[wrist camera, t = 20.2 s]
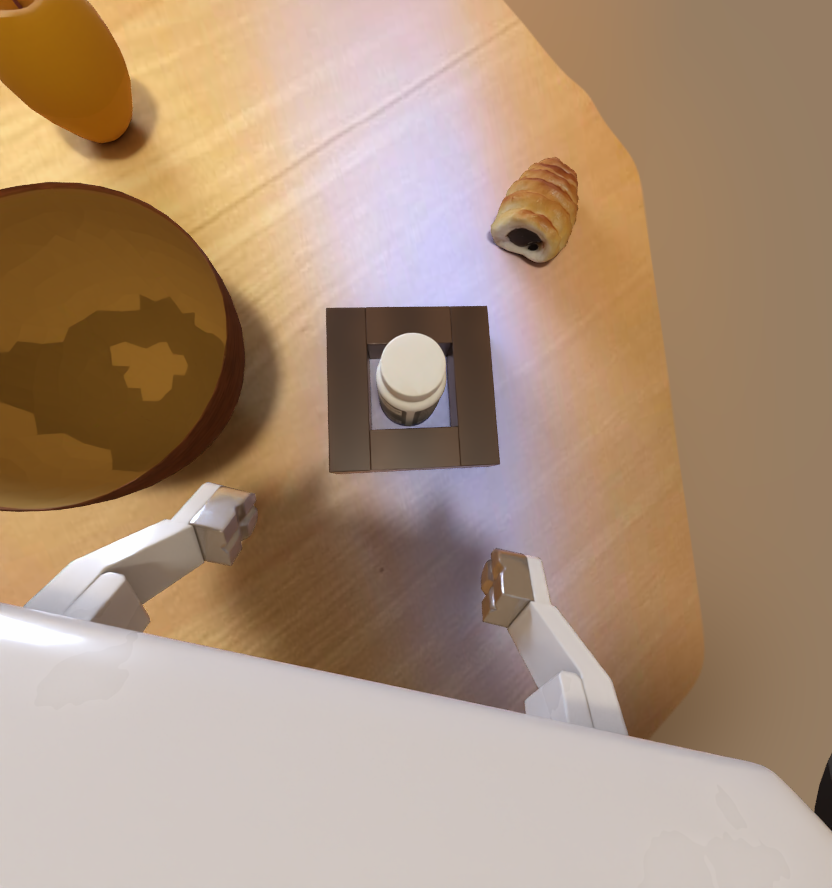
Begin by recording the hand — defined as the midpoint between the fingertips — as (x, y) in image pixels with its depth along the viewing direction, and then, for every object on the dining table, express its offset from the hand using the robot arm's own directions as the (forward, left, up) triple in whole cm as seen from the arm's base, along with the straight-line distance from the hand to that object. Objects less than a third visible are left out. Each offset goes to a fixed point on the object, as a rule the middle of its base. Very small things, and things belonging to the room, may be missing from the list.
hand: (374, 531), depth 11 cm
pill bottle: (-2, -9, -16) cm, 19 cm away
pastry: (-15, -25, -16) cm, 33 cm away
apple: (+22, -34, -16) cm, 44 cm away
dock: (-3, -9, -16) cm, 19 cm away
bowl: (+16, -10, -16) cm, 25 cm away
